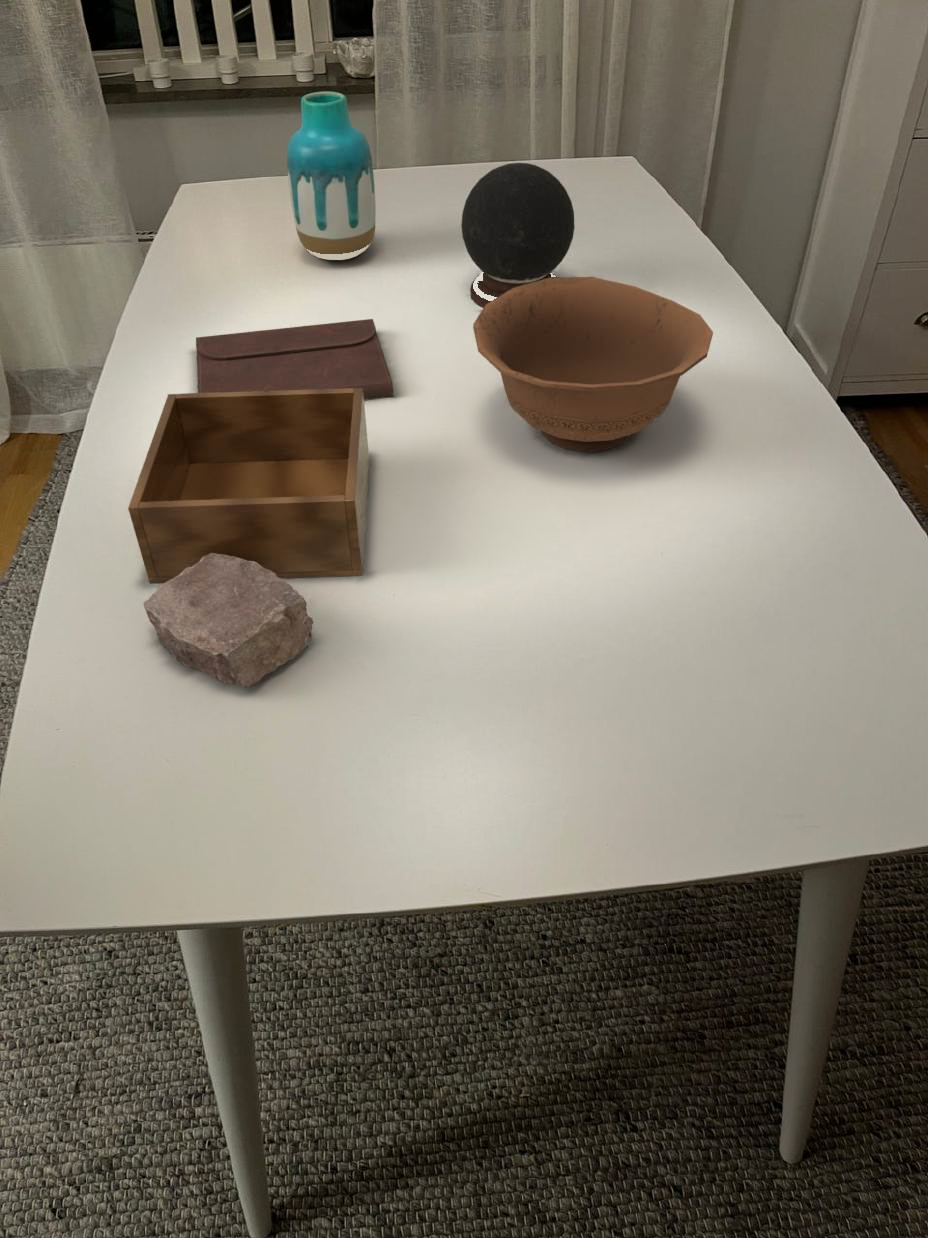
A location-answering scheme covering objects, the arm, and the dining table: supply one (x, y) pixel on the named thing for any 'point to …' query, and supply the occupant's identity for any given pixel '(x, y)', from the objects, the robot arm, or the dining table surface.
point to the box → (256, 483)
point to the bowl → (589, 356)
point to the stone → (230, 619)
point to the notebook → (295, 360)
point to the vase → (331, 178)
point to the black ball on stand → (516, 227)
